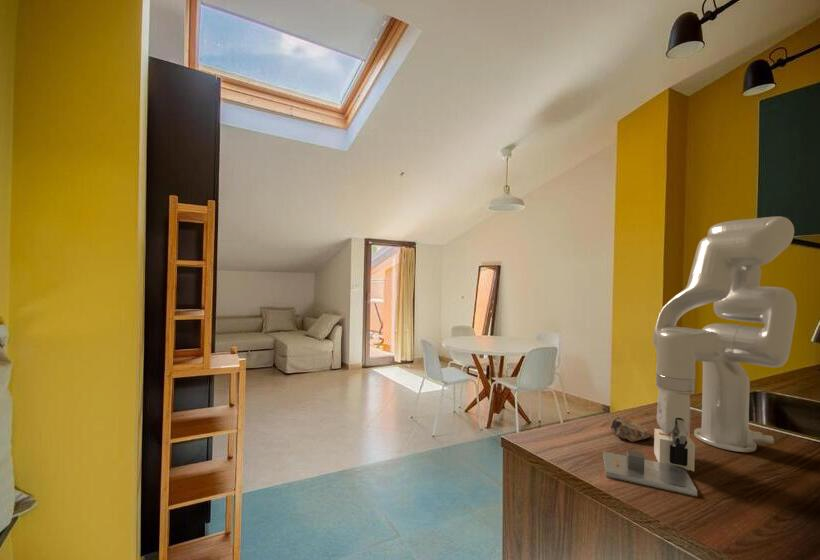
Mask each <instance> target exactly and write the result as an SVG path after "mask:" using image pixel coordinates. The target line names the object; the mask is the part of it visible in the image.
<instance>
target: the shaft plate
mask: <svg viewBox="0 0 820 560" xmlns="http://www.w3.org/2000/svg"><path fill="white" fill-rule="evenodd" d="M602 458H603V464H604V465H603V466H604V470H605V471H604V473H605V477H606V478H610V479H615V480H618V479H619V481H623V480H624V481H623V482H627V481H629V482H628V483H632V482H633V484H637V485H642V486H647V487H650V486H651V488H655V489H660V490H665V491H669V492H673V493H679V494H684V495H687V496H693V497H698V489H697V488H696V486H695V483H694V482H693V480H692V479H691V477H690V476H689V473H688V472H687V470H685V468H684V467H681V466H676V465H670V464H665V463H660V462H658V461H655V460H650V459H645V456H644V454H643V451H639V450H638V451H637V450H633V449H626V455H624V454H618V453H612V452H608V451H602Z"/></svg>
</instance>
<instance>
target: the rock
mask: <svg viewBox="0 0 820 560" xmlns="http://www.w3.org/2000/svg"><path fill="white" fill-rule="evenodd" d="M610 430H611V431H613V432H614V434H615V435H617V436H618V437H620V438H621V439H623V440H626V439H627V440H626V441H628V440H629V441H628V442H636V441H640V440H646V439H649V438H650V437H652V434H651V433H650V431H649V429H647V428H646V427H645V426H644V425H642V424H638V423H632V421H630V420H626V419H625V418H624V417H622V416H619V415H617V417H616V418H615V419H614V420H613V421H612V422H611V426H610Z"/></svg>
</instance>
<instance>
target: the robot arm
mask: <svg viewBox="0 0 820 560" xmlns="http://www.w3.org/2000/svg"><path fill="white" fill-rule="evenodd" d="M794 235H795V227H794V224H793V223H792V221H791V220H790V219H789V218H788V217H785V216H780V215H779V216H767V217H766V216H765V217H758V218H757V217H755V218H746V219H735V220H729V221H728V220H727V221H723V222H719V223H716V224H713V225H712V226H710V227H709V229H708V230H707V236H705V237H703V238H702V239H700V241H699V242H698V244H697V247H696V249H695V250H696V251H695V254H694V258H693V261H692V266H691V269H690V272H689V276H688V280H687V284H686V286H685V288H683V289H682V290H681V291H679V292H678V293H677V294H675V295H674V296H673V297H671V299H670V300H669V301H667V302H666V303H665V305H663V306H662V308H661V310H660V311H659V313H658V316H657V319H656V322H655V325H654V328H653V329H654V330H653V333H652V343H653V347H654V348H655V349H656V362H655V363H656V364H655V387H656V388H657V389H658V395H657V408H656V422H657V424H658V426H659V429H661V430H662V431H663V432H664V433H665V434H667V433H670V435H671V443H672V445H670V463H672V464H677V465H682V466H687V459H688V445H687V437H688V436H689V437H690V434H691V433H690V431H691V398H690V395H693V394H695V393H696V392H695V391H696V362H702V389H701V390H702V394H701V395H702V397H701V425H700V426H701V427H697V428H695V429H694V431H693V435H694V437H695V438H696V439H698V440H699V441H701V442H703V443H704V444H707V445H709V446H711V447H712V446H713V447H716V448H719V449H722V450H726V451H731V452H738V453H753V452H755V451H756V450H757V444H756V443H758V442H761V443H765V444H769V445H770V444H771V445H773V444H775V439H774V436H773V435H770V434H769V435H768V434H763V433H762V432H759V431H753V430H752V429H750V428H749V426H750V424H749V423H750V421H749V420H750V388H751V383H750V382H751V381H750V378H749V375H748V373H747V371H746V370H745V368H744V367H743V365H742V364H741V363H745V364H748V365H749V364H750V365H755V366H759V367H760V366H761V367H768V368H781V367H783V366H784V365H785V364H786V363H787V361H788V359H789V357H790V354H791V348H792V342H793V338H794V337H793V335H794V331H795V324H796V320H797V319H796V318H797V309H798V307H797V301H796V298H795V297H796V296H795V295H794V294H793V292H792V291H790V290H789V289H787V288H785V287H780V286H766V285H765V286H761V285H760V283H761V277H762V269H761V267H760V266H764V265H767V264H770V263H771V262H772V261H773V260H774V259H775V258H777V257H778V256H779V255H781V253H782V252H783V251H785V250H786V249H787V248H789V246H790V245H791V243H792V241H793V239H794ZM711 303H713V312H714V314H715V316H717V317H718V318H720V319H724V320H726V321H727V320H729V321H734V322H735V321H736V322H744V323H753V324H756V323H757V324H764V326H763V327H761V326H750V325H742V324H732V323H723V322H722V323H721V322H720V323H710V324H707V325H705V326H703V328H701V329H699V328H691V327H684V326H683V327H682V326H677V323H678V321H680V319H681V317H682V316H684V315H685V314H686V313H687V312H690V311H691V310H694V309H696V308H699V307H702V306H705V305H709V304H711ZM673 431H674V432H673ZM677 432H678V433H677ZM675 437H678V438H676V440H675Z"/></svg>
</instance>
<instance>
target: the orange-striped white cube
mask: <svg viewBox="0 0 820 560" xmlns="http://www.w3.org/2000/svg"><path fill="white" fill-rule="evenodd" d="M653 429H654V433H653V434H654V438H653V439H654V441H653V453H654V457H655V458H656V460H657V462H660V463H665V464H670V465H676V466H681V467H684V468H685V469H686V471H690V470H691V472H695V464H696V463H695V459H696V457H695V454H696V453H695V451H696V444H695V442H694V441H693V439H691V438H690V435H689V436H688V437H687V445H688V459H687V466H682V465H677V464H672V463H670V445H672V443H671V435H670V433H667V434H665V433H664V432H663V431H662V430H661V428H653ZM673 432H674V431H673ZM677 433H678V432H677ZM676 438H678V437H675V440H676Z"/></svg>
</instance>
